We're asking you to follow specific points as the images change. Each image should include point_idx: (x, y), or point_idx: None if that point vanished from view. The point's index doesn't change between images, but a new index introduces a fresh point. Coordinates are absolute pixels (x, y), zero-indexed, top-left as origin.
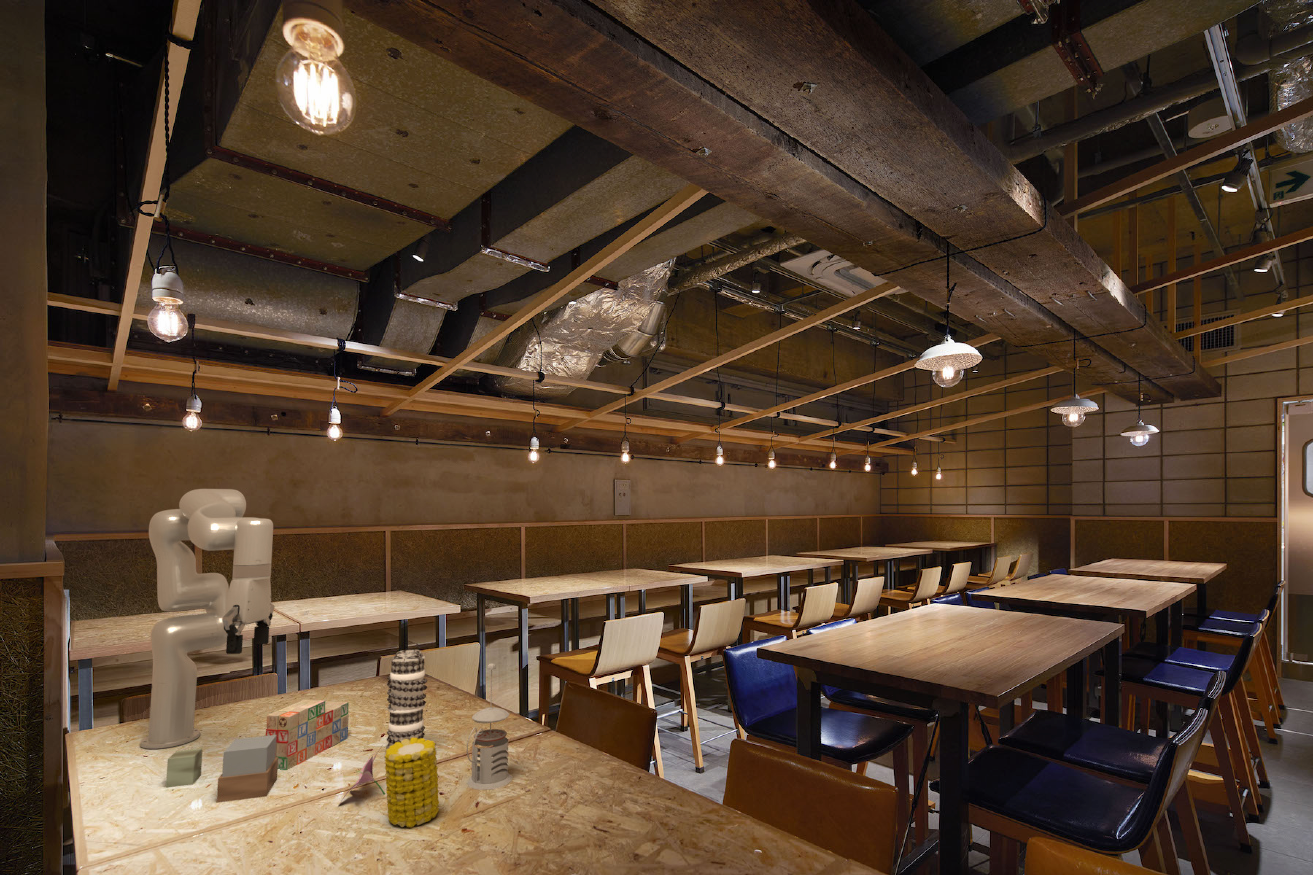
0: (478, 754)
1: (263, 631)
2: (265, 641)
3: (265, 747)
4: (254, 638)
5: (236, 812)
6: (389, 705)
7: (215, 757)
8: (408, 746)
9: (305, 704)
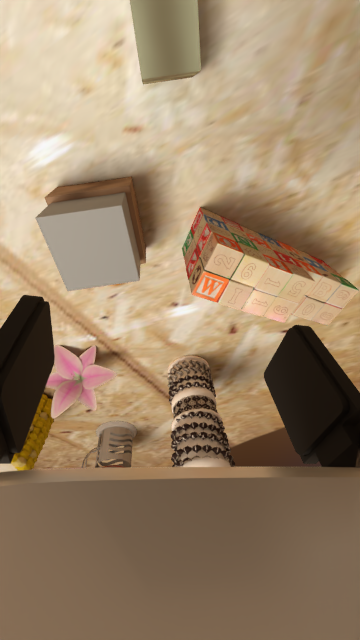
0: (125, 444)
1: (296, 422)
2: (268, 381)
3: (67, 288)
4: (304, 349)
5: (24, 237)
6: (197, 414)
7: (304, 54)
8: (9, 465)
9: (271, 296)
